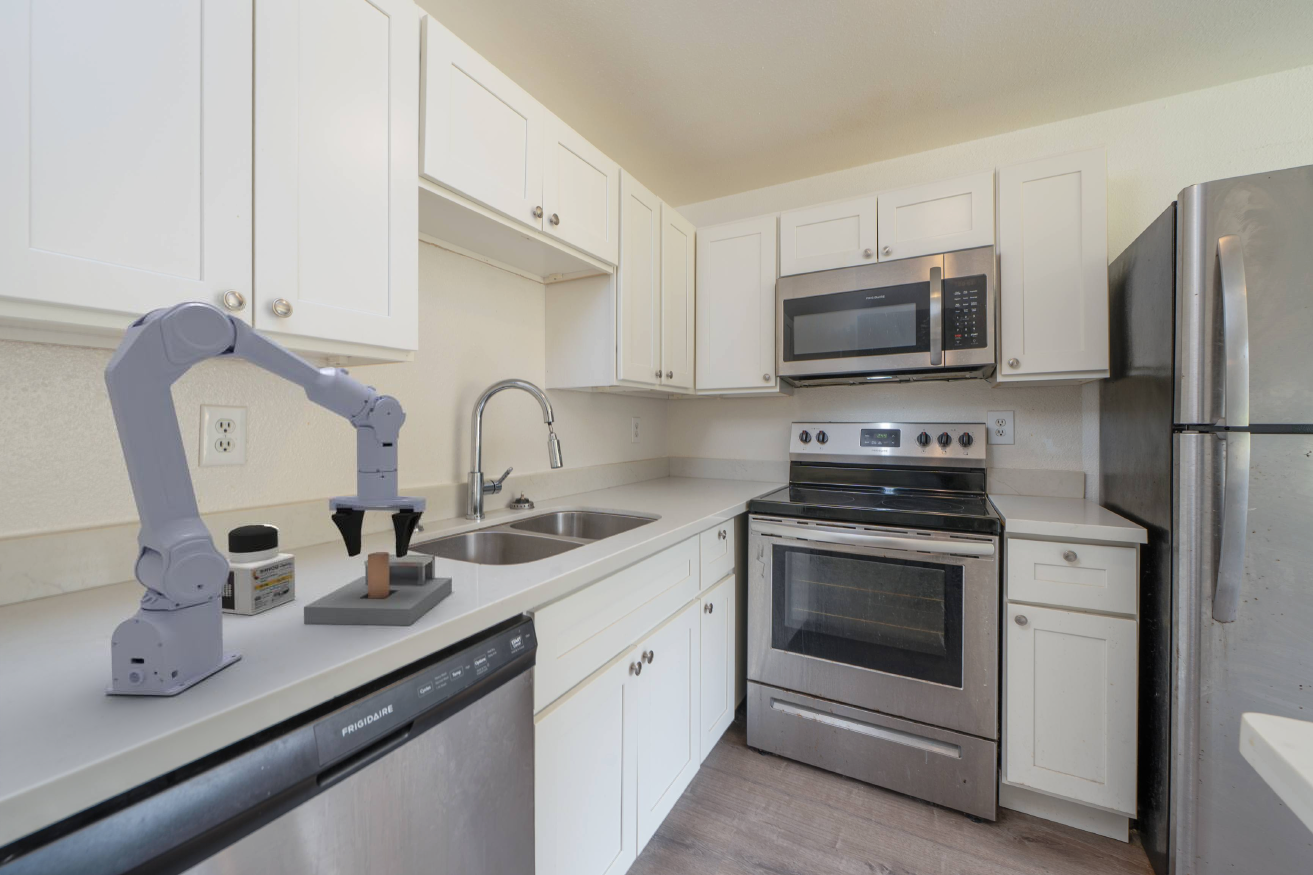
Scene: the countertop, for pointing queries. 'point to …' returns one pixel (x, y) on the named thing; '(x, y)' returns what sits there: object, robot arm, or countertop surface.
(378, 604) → the socket board
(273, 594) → the container
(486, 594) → the countertop surface
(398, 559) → the grey bridge
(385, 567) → the peg
